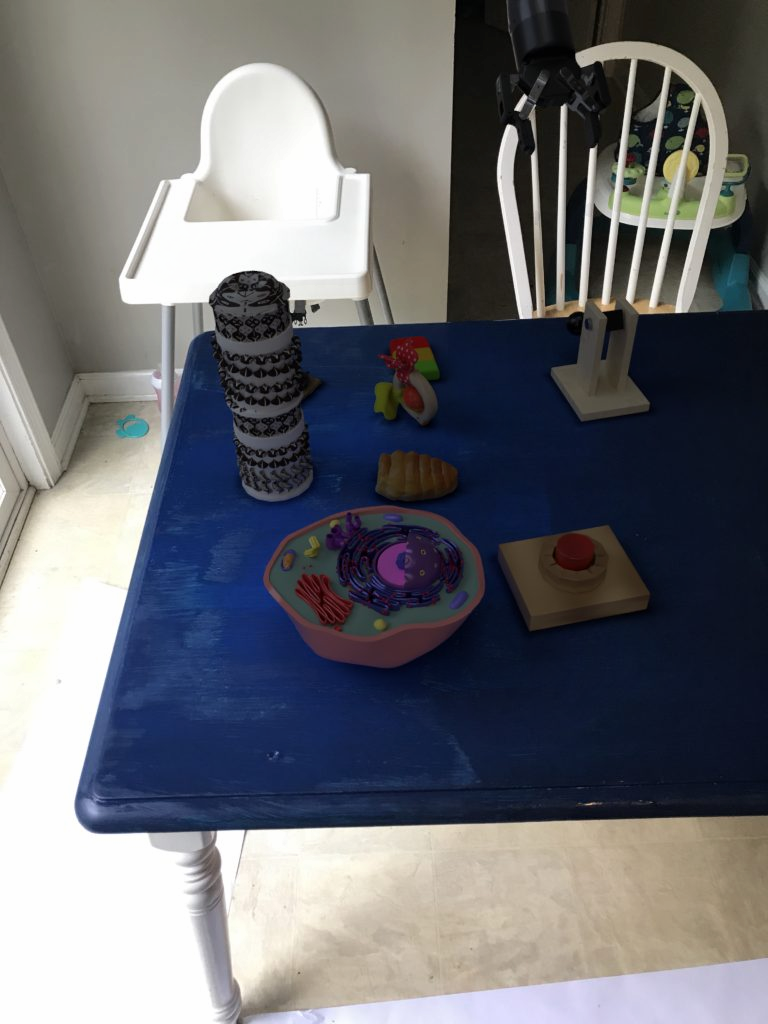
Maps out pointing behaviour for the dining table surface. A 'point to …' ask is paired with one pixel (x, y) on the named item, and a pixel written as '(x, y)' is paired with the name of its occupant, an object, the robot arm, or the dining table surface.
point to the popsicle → (426, 358)
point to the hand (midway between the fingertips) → (562, 149)
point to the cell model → (376, 584)
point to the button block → (571, 581)
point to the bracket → (602, 368)
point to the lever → (612, 324)
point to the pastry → (414, 476)
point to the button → (574, 552)
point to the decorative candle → (262, 384)
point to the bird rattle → (406, 387)
